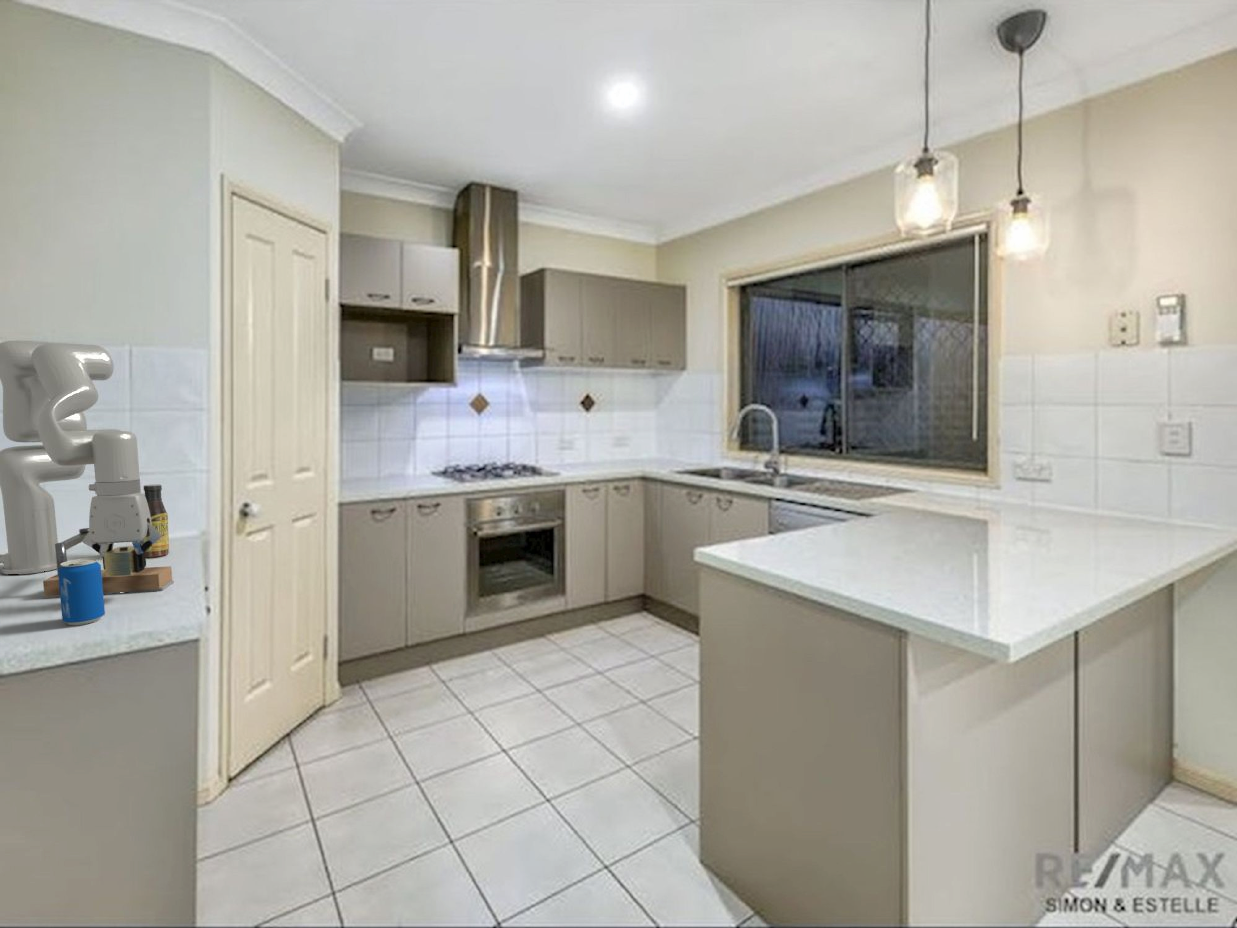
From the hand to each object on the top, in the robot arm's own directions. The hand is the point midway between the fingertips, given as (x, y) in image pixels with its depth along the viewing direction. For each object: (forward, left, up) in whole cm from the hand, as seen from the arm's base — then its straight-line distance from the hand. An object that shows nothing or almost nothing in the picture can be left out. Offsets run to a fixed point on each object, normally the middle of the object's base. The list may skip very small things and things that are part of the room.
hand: (125, 571), depth 139 cm
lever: (-17, +16, -2) cm, 23 cm away
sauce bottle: (-11, +43, -7) cm, 45 cm away
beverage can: (-2, -13, -7) cm, 15 cm away
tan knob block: (0, 0, 0) cm, 0 cm away
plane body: (-7, +9, -6) cm, 13 cm away
